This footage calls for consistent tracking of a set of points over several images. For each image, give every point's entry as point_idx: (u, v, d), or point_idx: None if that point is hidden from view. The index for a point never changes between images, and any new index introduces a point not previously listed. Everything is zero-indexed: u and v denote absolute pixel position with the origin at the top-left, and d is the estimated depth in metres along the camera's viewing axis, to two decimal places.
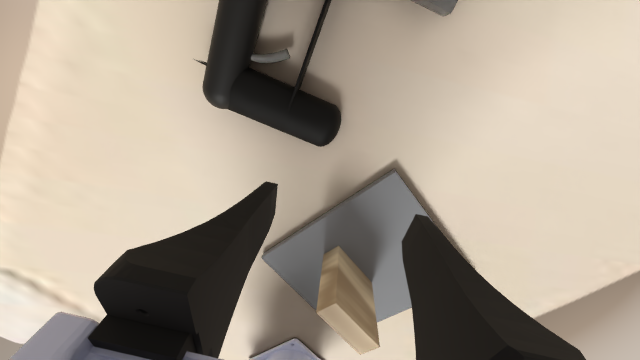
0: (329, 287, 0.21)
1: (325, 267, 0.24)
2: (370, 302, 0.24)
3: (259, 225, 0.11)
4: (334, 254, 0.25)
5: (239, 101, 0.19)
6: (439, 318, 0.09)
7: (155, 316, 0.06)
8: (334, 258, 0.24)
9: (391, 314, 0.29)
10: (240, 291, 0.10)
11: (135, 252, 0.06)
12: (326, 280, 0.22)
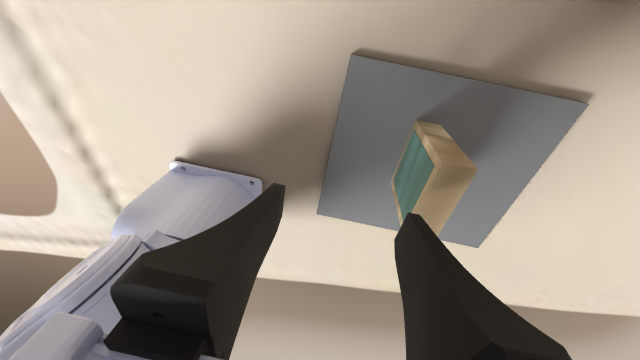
0: (452, 151, 0.15)
1: (428, 131, 0.17)
2: None
3: (268, 227, 0.11)
4: (439, 129, 0.18)
5: None
6: (428, 315, 0.09)
7: (170, 320, 0.06)
8: (440, 131, 0.18)
9: (384, 226, 0.25)
10: (249, 293, 0.10)
11: (150, 255, 0.06)
12: (440, 142, 0.16)
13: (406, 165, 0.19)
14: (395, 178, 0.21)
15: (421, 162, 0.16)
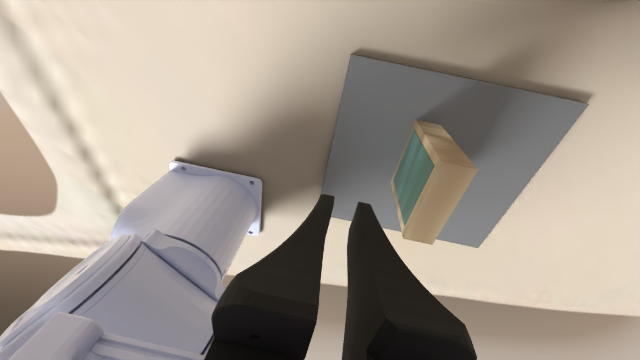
0: (452, 151, 0.15)
1: (428, 131, 0.17)
2: None
3: None
4: (439, 128, 0.18)
5: None
6: (358, 300, 0.09)
7: (268, 342, 0.06)
8: (440, 131, 0.18)
9: (384, 226, 0.25)
10: None
11: (246, 276, 0.06)
12: (440, 142, 0.16)
13: (406, 165, 0.19)
14: (395, 178, 0.21)
15: (421, 162, 0.16)
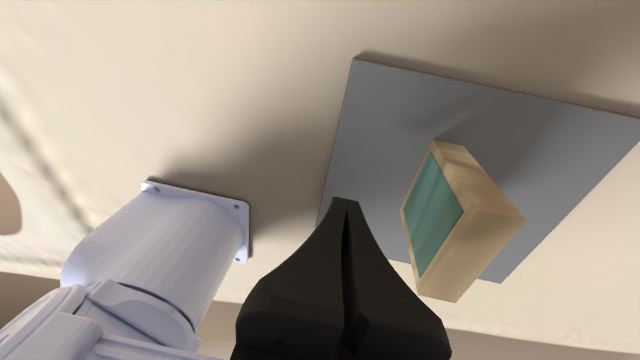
0: (485, 188, 0.11)
1: (450, 156, 0.14)
2: None
3: None
4: (462, 152, 0.15)
5: None
6: None
7: (292, 347, 0.06)
8: (465, 156, 0.14)
9: (391, 257, 0.22)
10: None
11: (269, 282, 0.06)
12: (468, 175, 0.12)
13: (420, 196, 0.15)
14: (405, 207, 0.18)
15: (443, 199, 0.13)
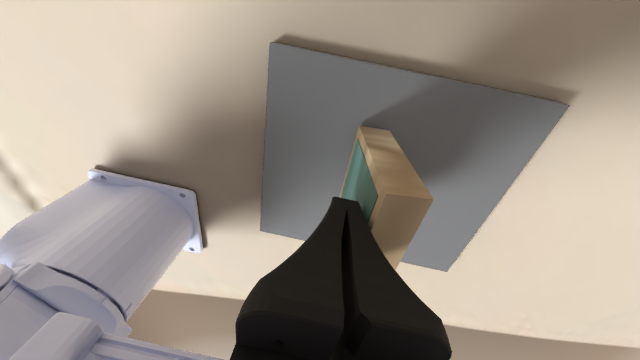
0: (400, 171, 0.11)
1: (373, 141, 0.14)
2: None
3: None
4: (386, 136, 0.15)
5: None
6: None
7: (292, 347, 0.06)
8: (388, 140, 0.14)
9: None
10: None
11: (269, 282, 0.06)
12: (386, 159, 0.12)
13: (351, 183, 0.15)
14: (342, 196, 0.17)
15: (365, 185, 0.12)
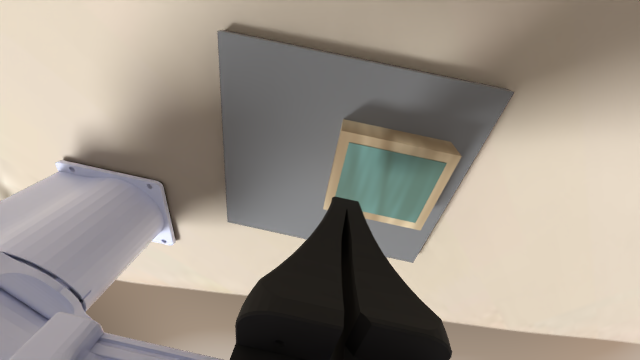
0: (423, 140, 0.15)
1: (377, 135, 0.15)
2: None
3: None
4: (359, 125, 0.15)
5: None
6: None
7: (292, 347, 0.06)
8: (368, 127, 0.15)
9: (305, 237, 0.22)
10: None
11: (268, 282, 0.06)
12: (408, 139, 0.15)
13: (364, 181, 0.16)
14: None
15: (411, 167, 0.15)
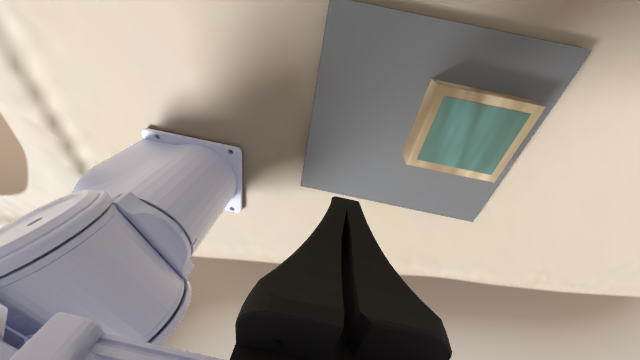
0: (506, 96, 0.17)
1: (469, 89, 0.16)
2: None
3: None
4: (448, 83, 0.17)
5: None
6: None
7: (292, 347, 0.06)
8: (456, 85, 0.17)
9: (373, 199, 0.24)
10: None
11: (269, 282, 0.06)
12: (495, 94, 0.17)
13: (451, 134, 0.18)
14: (423, 155, 0.19)
15: (498, 119, 0.17)
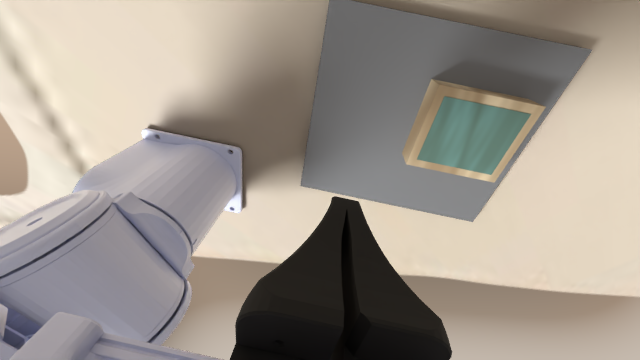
0: (506, 96, 0.17)
1: (469, 89, 0.16)
2: None
3: None
4: (448, 83, 0.17)
5: None
6: None
7: (292, 347, 0.06)
8: (456, 85, 0.17)
9: (373, 199, 0.24)
10: None
11: (269, 282, 0.06)
12: (495, 94, 0.17)
13: (451, 134, 0.18)
14: (423, 155, 0.19)
15: (498, 119, 0.17)
